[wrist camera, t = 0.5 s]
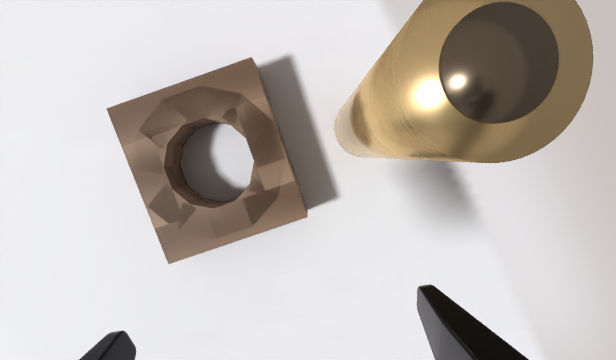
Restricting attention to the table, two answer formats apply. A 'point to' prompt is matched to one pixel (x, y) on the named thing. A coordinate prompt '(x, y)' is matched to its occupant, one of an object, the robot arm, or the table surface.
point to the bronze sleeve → (472, 82)
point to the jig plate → (168, 150)
